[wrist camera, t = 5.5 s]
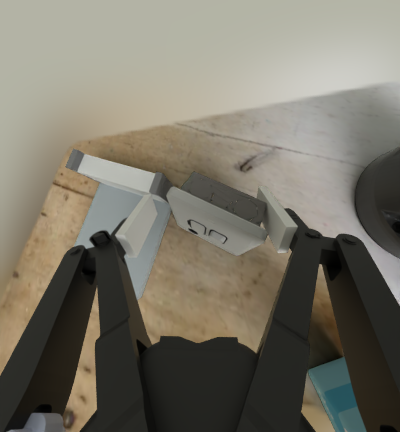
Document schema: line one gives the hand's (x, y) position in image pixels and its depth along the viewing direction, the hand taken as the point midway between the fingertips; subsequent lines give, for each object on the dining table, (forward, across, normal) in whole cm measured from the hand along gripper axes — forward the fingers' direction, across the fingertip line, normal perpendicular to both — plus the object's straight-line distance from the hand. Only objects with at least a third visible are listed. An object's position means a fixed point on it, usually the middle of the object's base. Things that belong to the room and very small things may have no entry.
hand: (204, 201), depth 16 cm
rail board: (+2, -12, -5) cm, 14 cm away
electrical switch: (+2, +1, -5) cm, 5 cm away
